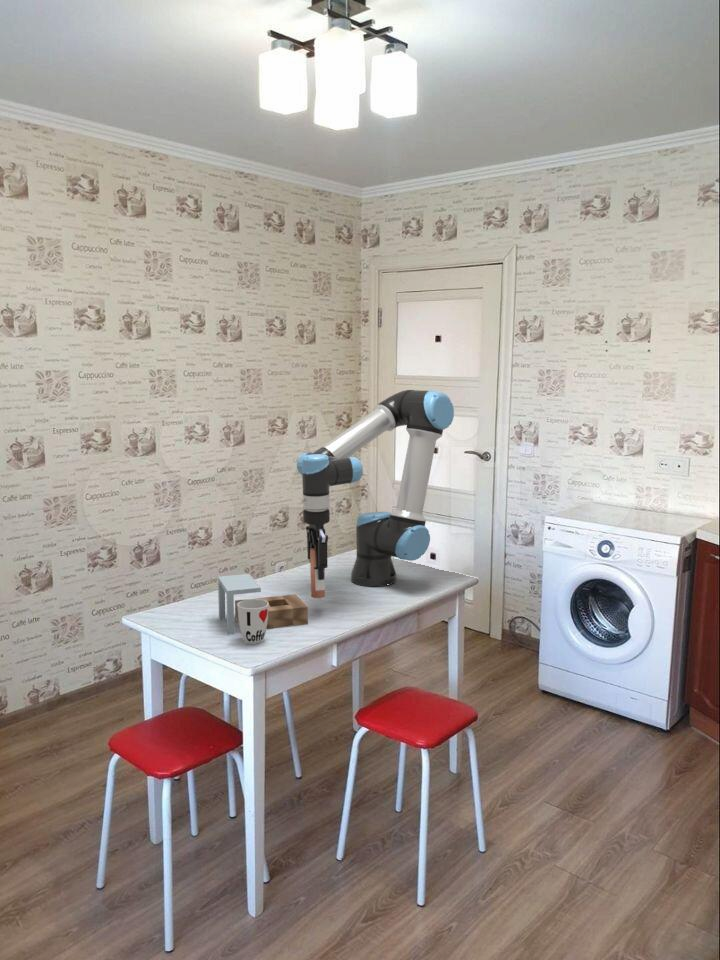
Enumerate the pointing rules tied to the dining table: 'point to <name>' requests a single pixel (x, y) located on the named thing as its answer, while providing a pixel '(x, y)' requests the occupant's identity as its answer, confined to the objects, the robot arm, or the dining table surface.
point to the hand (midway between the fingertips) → (317, 587)
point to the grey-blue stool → (233, 587)
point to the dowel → (313, 564)
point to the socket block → (283, 611)
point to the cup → (253, 619)
